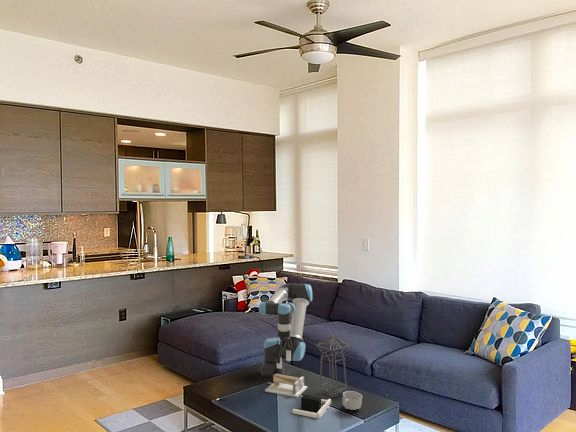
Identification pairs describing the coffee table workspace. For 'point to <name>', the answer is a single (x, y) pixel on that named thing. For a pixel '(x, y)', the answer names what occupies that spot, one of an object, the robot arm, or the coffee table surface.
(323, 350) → the geometric lantern
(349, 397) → the teacup
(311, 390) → the coffee table surface
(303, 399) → the digital camera
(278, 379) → the beige piece
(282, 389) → the rest board
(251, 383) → the coffee table surface
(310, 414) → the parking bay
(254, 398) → the coffee table surface
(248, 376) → the coffee table surface
